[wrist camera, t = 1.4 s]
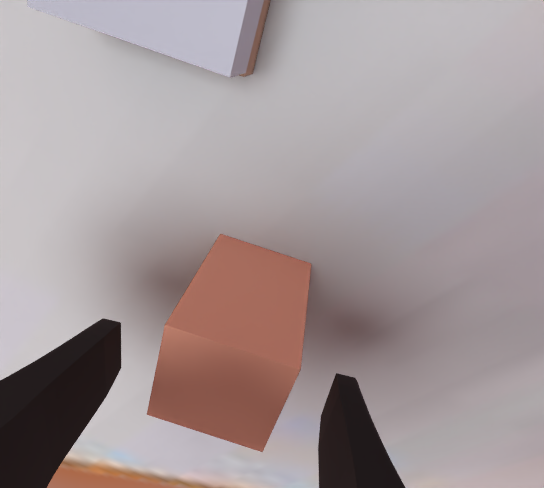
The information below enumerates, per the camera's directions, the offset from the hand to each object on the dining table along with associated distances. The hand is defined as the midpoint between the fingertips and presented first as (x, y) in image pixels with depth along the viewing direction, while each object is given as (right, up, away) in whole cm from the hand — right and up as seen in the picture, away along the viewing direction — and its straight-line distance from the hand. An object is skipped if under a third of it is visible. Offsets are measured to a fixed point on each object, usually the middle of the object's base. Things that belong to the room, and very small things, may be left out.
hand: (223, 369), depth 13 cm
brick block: (+1, +2, +4) cm, 5 cm away
